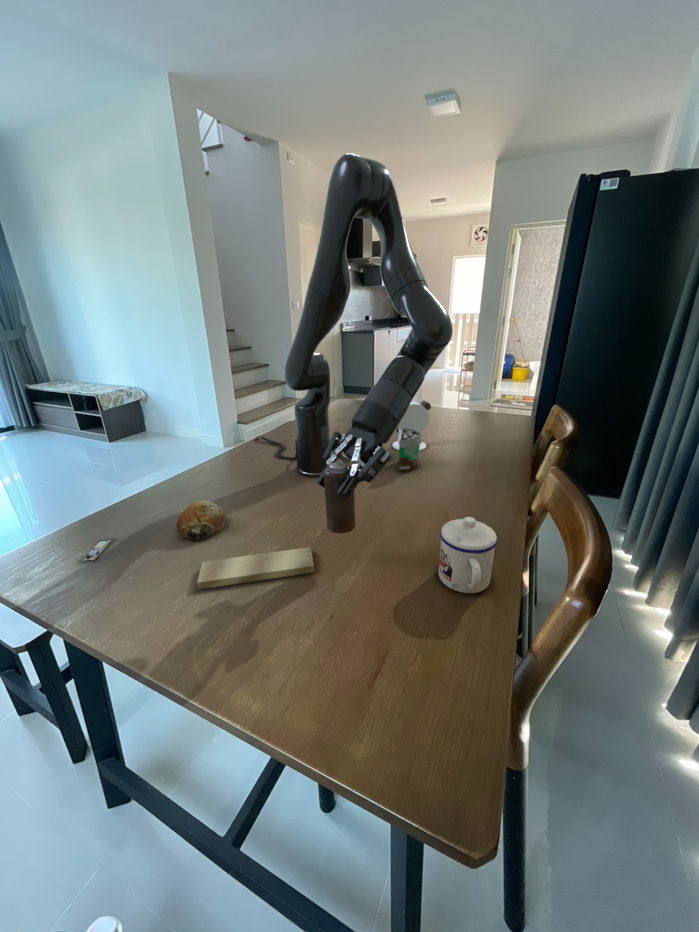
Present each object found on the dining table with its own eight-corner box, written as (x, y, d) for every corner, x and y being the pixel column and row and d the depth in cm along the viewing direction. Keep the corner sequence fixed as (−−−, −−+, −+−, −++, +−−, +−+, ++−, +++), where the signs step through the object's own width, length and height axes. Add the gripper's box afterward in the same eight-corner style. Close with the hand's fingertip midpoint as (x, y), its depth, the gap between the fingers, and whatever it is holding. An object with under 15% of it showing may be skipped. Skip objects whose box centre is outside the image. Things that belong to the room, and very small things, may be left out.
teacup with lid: (433, 560, 71) (437, 505, 66) (483, 561, 70) (490, 506, 66) (444, 607, 60) (449, 545, 55) (503, 609, 59) (513, 546, 55)
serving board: (198, 589, 65) (196, 582, 65) (203, 568, 71) (202, 561, 70) (314, 572, 69) (313, 565, 68) (311, 553, 74) (310, 546, 74)
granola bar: (101, 543, 80) (99, 539, 80) (112, 542, 80) (111, 538, 80) (82, 562, 74) (81, 558, 74) (95, 562, 74) (93, 557, 74)
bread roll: (232, 538, 87) (237, 503, 87) (202, 544, 77) (207, 504, 77) (197, 531, 90) (201, 497, 90) (163, 536, 80) (168, 498, 80)
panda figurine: (421, 439, 136) (423, 397, 130) (433, 449, 126) (435, 405, 120) (388, 442, 134) (389, 399, 128) (398, 453, 124) (399, 407, 118)
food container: (420, 474, 107) (422, 441, 103) (398, 473, 108) (399, 440, 105) (421, 459, 118) (423, 428, 115) (401, 458, 120) (402, 427, 116)
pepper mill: (321, 527, 70) (316, 466, 65) (340, 515, 73) (337, 457, 69) (342, 536, 66) (338, 473, 62) (361, 524, 70) (359, 464, 65)
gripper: (345, 392, 71) (294, 469, 69) (400, 405, 60) (343, 496, 58) (367, 415, 76) (321, 487, 74) (422, 430, 65) (369, 515, 63)
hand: (331, 491), depth 66 cm, fingers closed on pepper mill, 5 cm apart
